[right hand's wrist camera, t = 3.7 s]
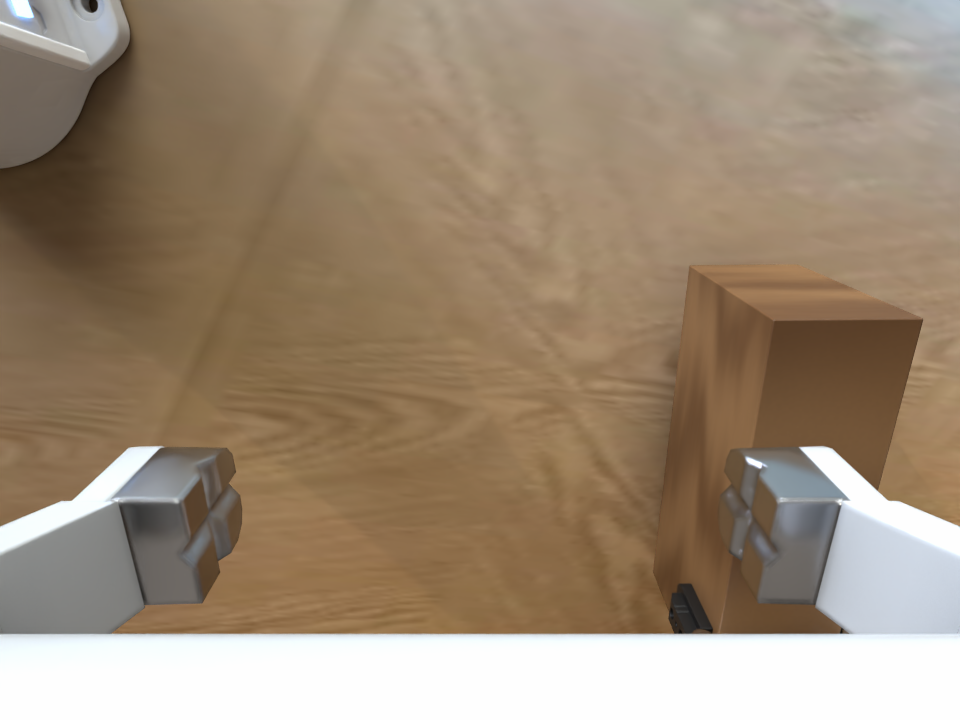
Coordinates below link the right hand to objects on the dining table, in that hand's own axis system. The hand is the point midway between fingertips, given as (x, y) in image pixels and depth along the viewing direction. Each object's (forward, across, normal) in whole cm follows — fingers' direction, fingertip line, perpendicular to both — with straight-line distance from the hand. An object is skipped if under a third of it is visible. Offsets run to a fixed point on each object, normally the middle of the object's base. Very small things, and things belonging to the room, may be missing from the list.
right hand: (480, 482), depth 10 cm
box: (+26, -15, +13) cm, 33 cm away
